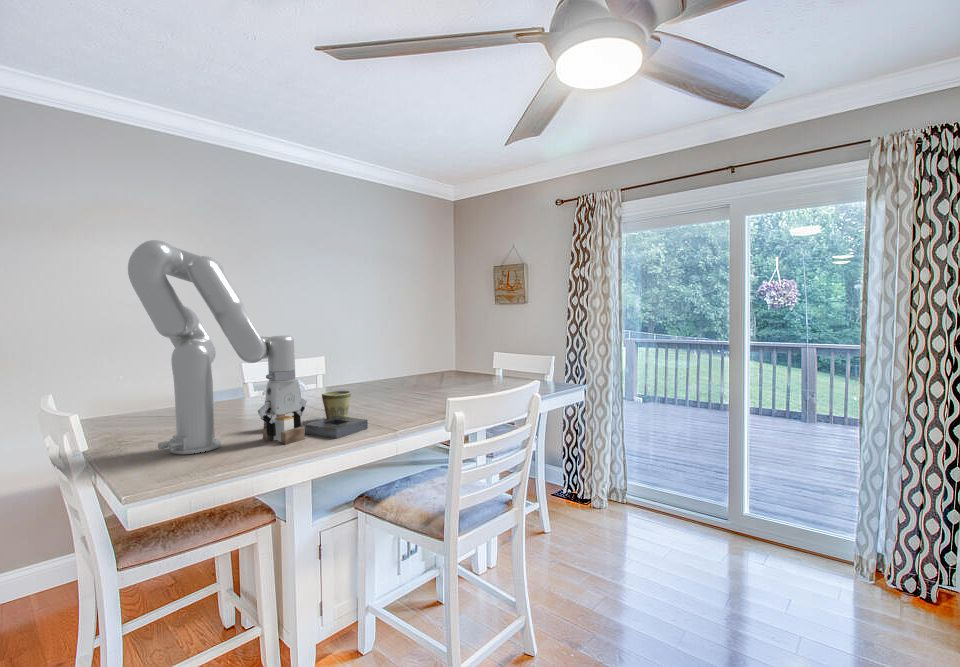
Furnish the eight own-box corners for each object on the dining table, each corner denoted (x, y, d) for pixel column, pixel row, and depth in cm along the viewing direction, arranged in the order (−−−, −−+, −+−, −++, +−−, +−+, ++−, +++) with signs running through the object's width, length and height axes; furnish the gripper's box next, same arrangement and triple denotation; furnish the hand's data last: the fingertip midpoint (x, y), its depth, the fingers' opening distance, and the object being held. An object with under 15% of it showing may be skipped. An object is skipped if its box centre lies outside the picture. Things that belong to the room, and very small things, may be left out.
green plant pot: (344, 423, 167) (343, 395, 167) (317, 423, 169) (316, 394, 169) (359, 415, 180) (358, 389, 180) (334, 415, 182) (333, 388, 181)
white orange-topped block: (284, 442, 145) (284, 419, 145) (273, 440, 147) (272, 417, 147) (294, 439, 148) (293, 416, 148) (283, 437, 150) (282, 415, 150)
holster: (285, 444, 142) (285, 432, 142) (262, 440, 147) (262, 429, 147) (304, 438, 148) (304, 427, 148) (282, 435, 153) (281, 424, 153)
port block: (336, 438, 148) (336, 429, 148) (304, 433, 155) (304, 424, 155) (367, 428, 160) (367, 419, 160) (336, 424, 167) (336, 415, 167)
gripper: (265, 380, 137) (268, 440, 138) (313, 373, 153) (315, 426, 153) (248, 379, 141) (251, 437, 142) (296, 372, 156) (298, 424, 157)
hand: (284, 431), depth 148 cm, fingers open, 8 cm apart
